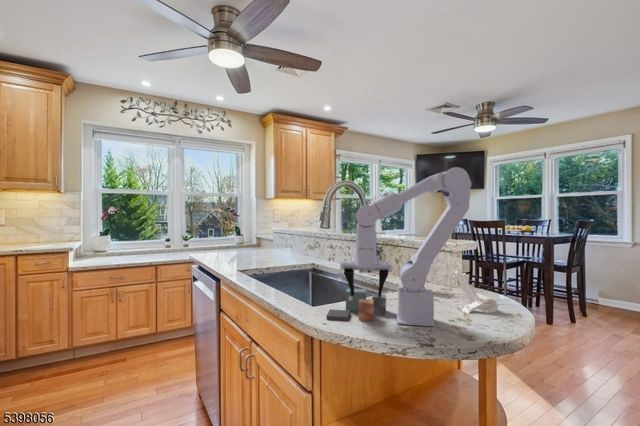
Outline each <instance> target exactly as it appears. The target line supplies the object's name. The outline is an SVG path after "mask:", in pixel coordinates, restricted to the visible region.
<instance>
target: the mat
mask: <svg viewBox="0 0 640 426" xmlns="http://www.w3.org/2000/svg"><path fill="white" fill-rule="evenodd" d="M350 315H351V311H348V310H346V309H345V310H343V309H331V308H330V309H329V310H328V312H327V313H326V320H331V321H342V322H343V321H344V322H345V321H346V322H348V321H349V317H350Z"/></svg>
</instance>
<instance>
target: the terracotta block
mask: <svg viewBox="0 0 640 426" xmlns="http://www.w3.org/2000/svg"><path fill="white" fill-rule="evenodd" d="M374 315H375V314H374V300H372V299H367V298H366V299H360V300H359V312H358V321H362V322H374V318H375V316H374Z"/></svg>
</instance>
